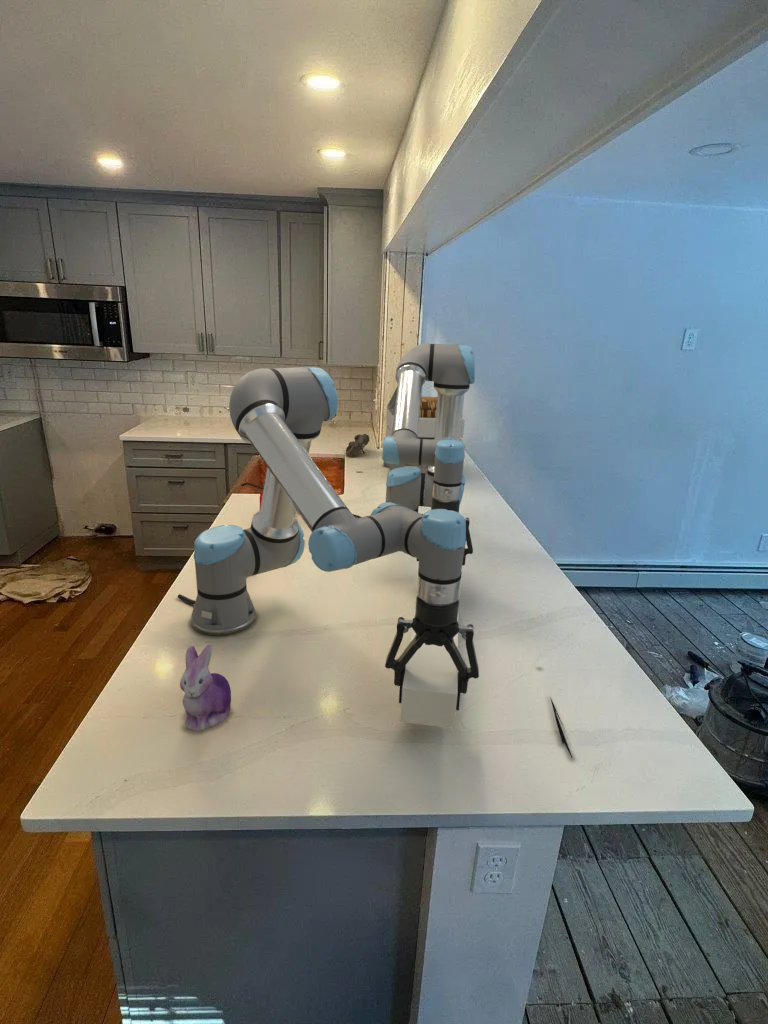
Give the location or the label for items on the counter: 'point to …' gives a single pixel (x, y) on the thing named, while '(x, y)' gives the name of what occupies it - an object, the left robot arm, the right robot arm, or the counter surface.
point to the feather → (560, 728)
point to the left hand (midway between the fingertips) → (428, 702)
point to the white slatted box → (425, 421)
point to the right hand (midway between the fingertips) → (439, 573)
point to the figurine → (204, 691)
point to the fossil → (357, 445)
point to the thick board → (430, 686)
